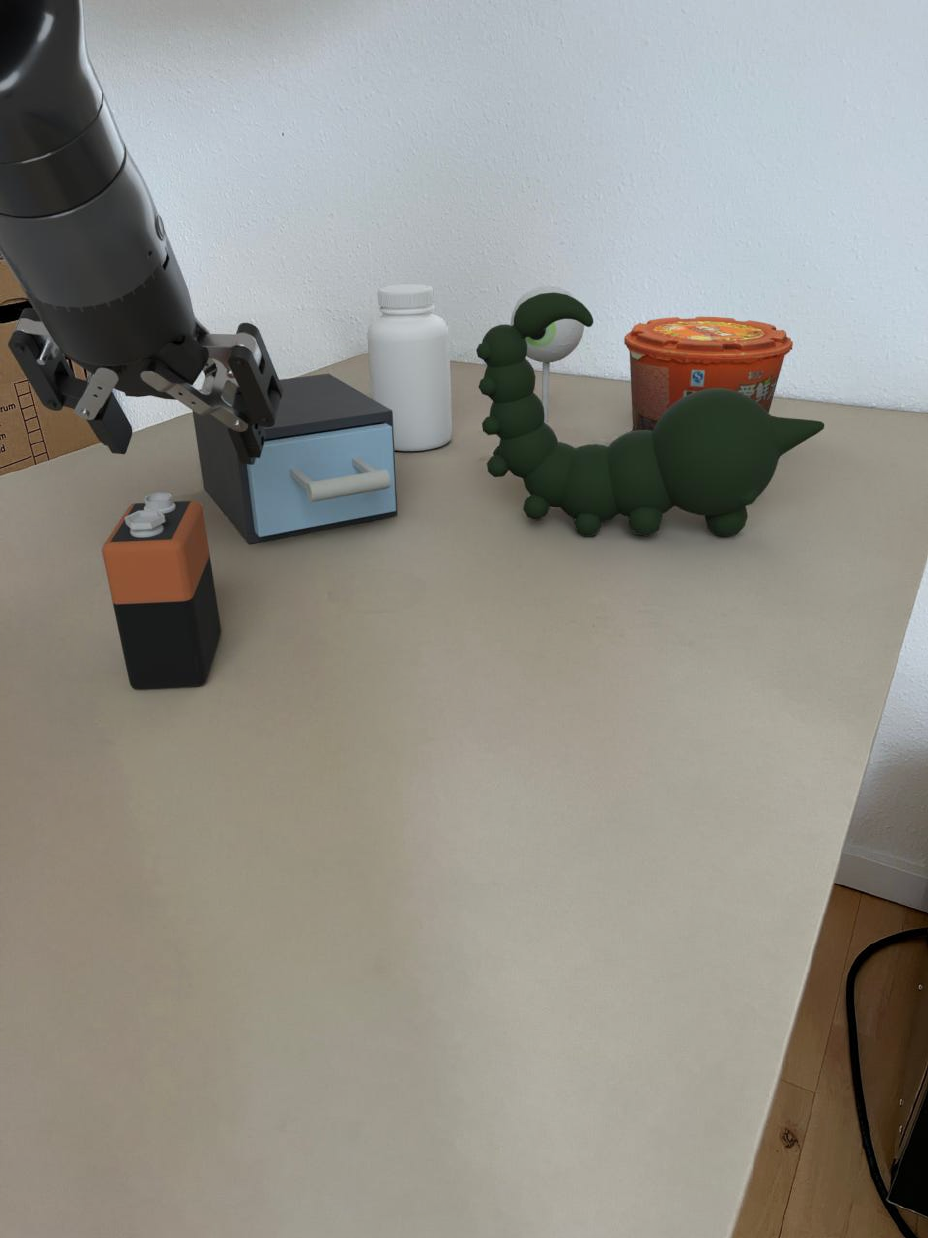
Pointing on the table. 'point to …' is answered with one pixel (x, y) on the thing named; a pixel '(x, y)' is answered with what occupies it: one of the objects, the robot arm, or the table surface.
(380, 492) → the drawer
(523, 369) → the toy figurine
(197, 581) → the battery
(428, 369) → the pill bottle
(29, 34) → the robot arm
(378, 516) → the dark grey box
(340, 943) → the table surface
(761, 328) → the food container
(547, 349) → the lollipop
